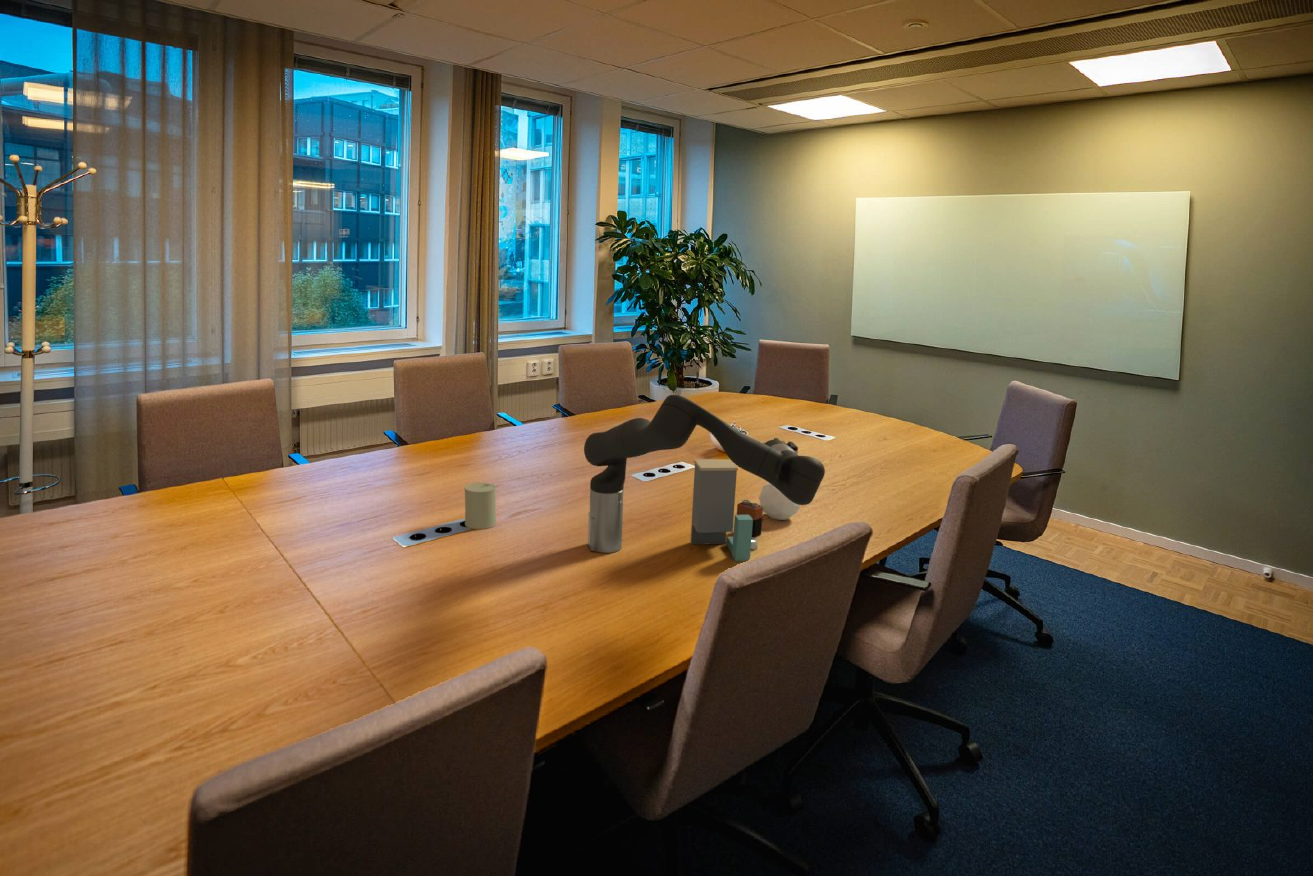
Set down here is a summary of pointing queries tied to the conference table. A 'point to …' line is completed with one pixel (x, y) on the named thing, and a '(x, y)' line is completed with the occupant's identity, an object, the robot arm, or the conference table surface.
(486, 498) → the can
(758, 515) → the battery
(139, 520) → the conference table surface
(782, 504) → the geodesic sphere
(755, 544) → the puck
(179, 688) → the conference table surface
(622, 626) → the conference table surface
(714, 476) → the cabinet
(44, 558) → the conference table surface
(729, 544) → the green piece
